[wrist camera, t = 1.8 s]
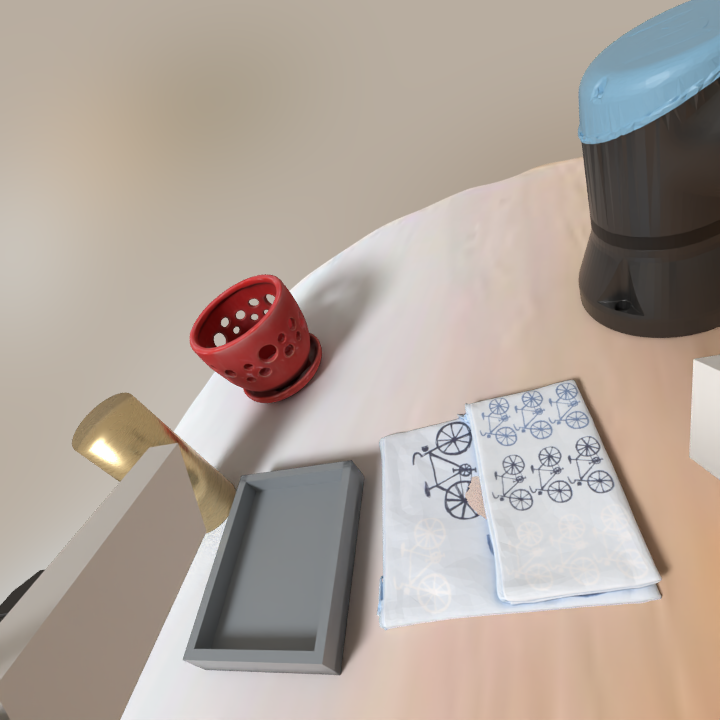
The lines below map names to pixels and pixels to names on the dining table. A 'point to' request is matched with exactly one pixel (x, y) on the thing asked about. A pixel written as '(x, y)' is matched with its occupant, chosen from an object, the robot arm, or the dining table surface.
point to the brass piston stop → (134, 437)
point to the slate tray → (282, 574)
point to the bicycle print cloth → (507, 515)
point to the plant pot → (258, 340)
